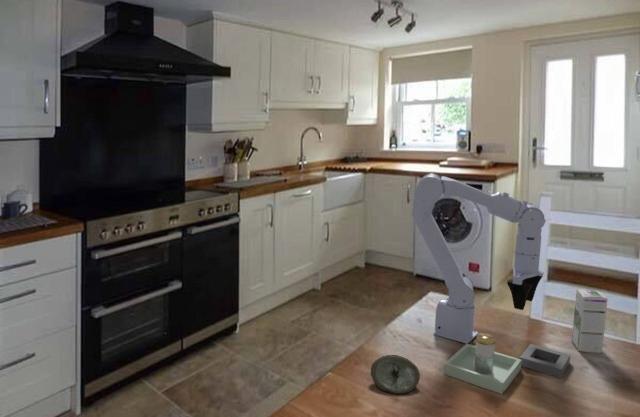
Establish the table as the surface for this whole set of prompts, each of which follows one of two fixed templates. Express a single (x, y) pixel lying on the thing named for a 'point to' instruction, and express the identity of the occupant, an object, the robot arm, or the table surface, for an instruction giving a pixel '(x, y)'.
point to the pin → (484, 353)
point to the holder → (543, 366)
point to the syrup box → (589, 320)
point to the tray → (497, 381)
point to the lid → (395, 374)
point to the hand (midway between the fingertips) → (523, 304)
